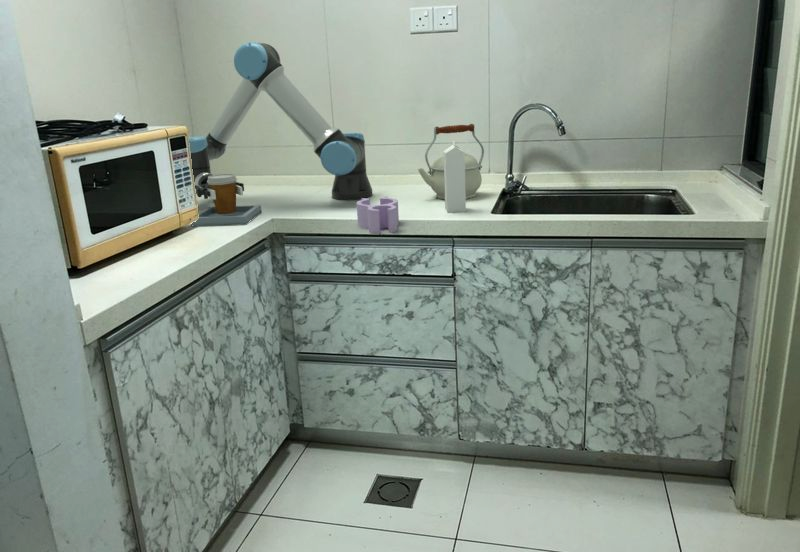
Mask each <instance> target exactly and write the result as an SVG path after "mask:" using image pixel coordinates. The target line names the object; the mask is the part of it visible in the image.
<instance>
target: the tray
mask: <svg viewBox="0 0 800 552" xmlns="http://www.w3.org/2000/svg"><path fill="white" fill-rule="evenodd" d="M198 213H199V219H198V220H197V221H196V222H193V223H192V224H190V226H191V225H193V226H192V227H209V226H210V227H211V226H212V225H219V226H231V225H230V224H246V225H248V224H249V223H250V222H251V221H253V220H254V219H255V218H256V217H258V216H259V215H260V214H261V213H262V205H261V204H252V205H249V204H247V205H246V204H243V205H236V212H235V213H231V214H217V213H216V209H215V206H208V207H206V208H205V209H203V210H201V211H199V212H198ZM259 213H260V214H259ZM258 214H259V215H258ZM257 215H258V216H257ZM255 216H256V217H255ZM254 217H255V218H254ZM253 218H254V219H253ZM252 219H253V220H252ZM250 220H251V221H250ZM249 221H250V222H249ZM248 222H249V223H248ZM247 223H248V224H247Z"/></svg>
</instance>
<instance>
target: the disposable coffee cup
mask: <svg viewBox="0 0 800 552" xmlns="http://www.w3.org/2000/svg"><path fill="white" fill-rule="evenodd" d="M237 180H238V178H237V176H236V174H234V173H220V174H213V175H212V176H209V177H208V181H207V182H208V184H209V187H210V189H212V190H214V191H215V194H216V199H212V200H213V202H212V203H213V205H214V207H215V209H216V213H217V214H231V213H235V212H236V206H237V194H236V182H238V181H237Z"/></svg>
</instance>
